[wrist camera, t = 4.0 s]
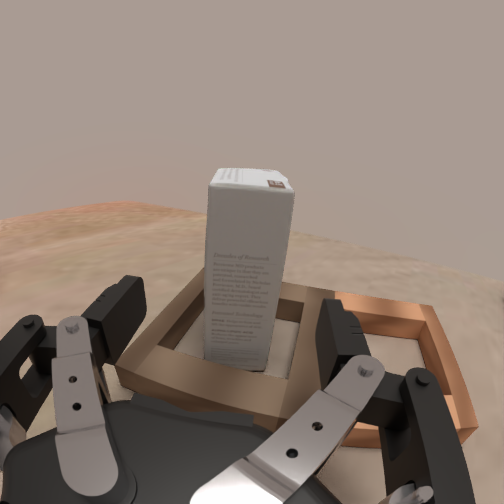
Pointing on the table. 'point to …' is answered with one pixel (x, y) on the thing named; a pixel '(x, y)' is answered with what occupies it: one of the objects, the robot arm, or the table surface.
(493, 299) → the table surface
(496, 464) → the table surface
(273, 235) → the skincare box
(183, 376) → the brown flat frame
